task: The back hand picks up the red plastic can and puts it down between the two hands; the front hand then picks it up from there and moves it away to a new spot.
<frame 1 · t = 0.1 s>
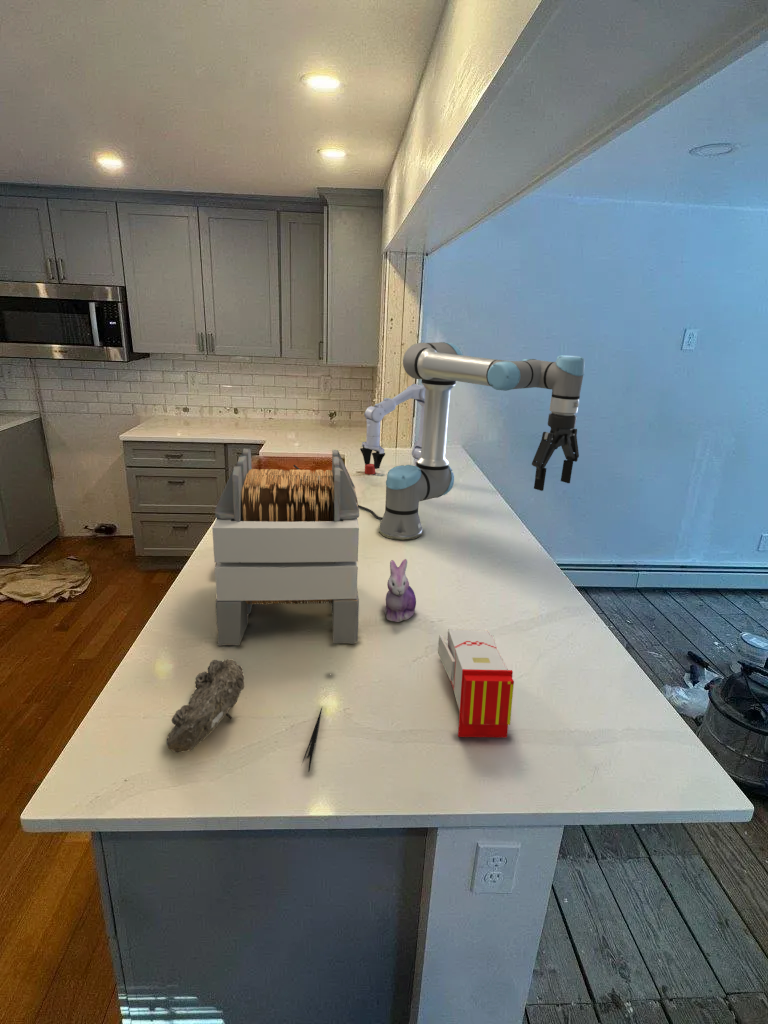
front hand: (552, 485, 166), 28 cm above the counter, tool pointing down, fingers open, 13 cm apart
back hand: (372, 466, 245), 10 cm above the counter, tool pointing down, fingers open, 7 cm apart
toy: (469, 691, 119), on the counter
figurine: (399, 614, 147), on the counter
fossil: (212, 717, 108), on the counter
can: (369, 473, 272), on the counter
feather: (319, 719, 109), on the counter
record crate: (291, 610, 147), on the counter
figurine character: (232, 569, 168), on the counter
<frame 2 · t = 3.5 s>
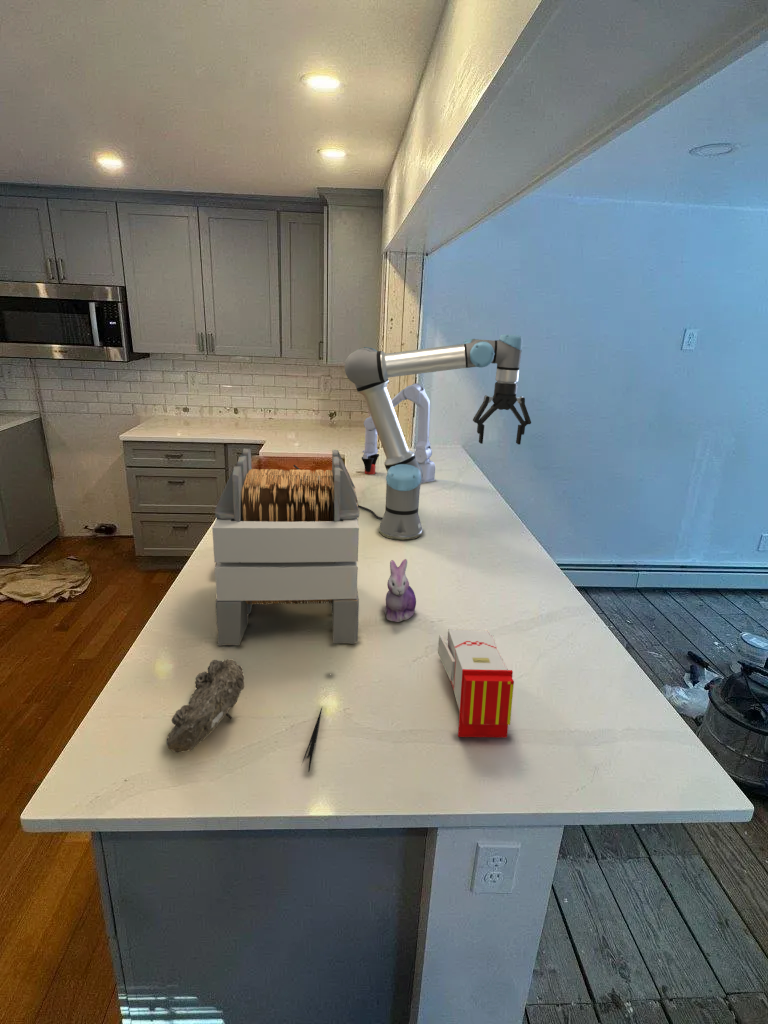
front hand: (499, 443, 200), 31 cm above the counter, tool pointing down, fingers open, 13 cm apart
back hand: (370, 470, 271), 1 cm above the counter, tool pointing down, fingers closed on can, 5 cm apart
can: (369, 473, 272), on the counter, touching back hand
everything else where it was.
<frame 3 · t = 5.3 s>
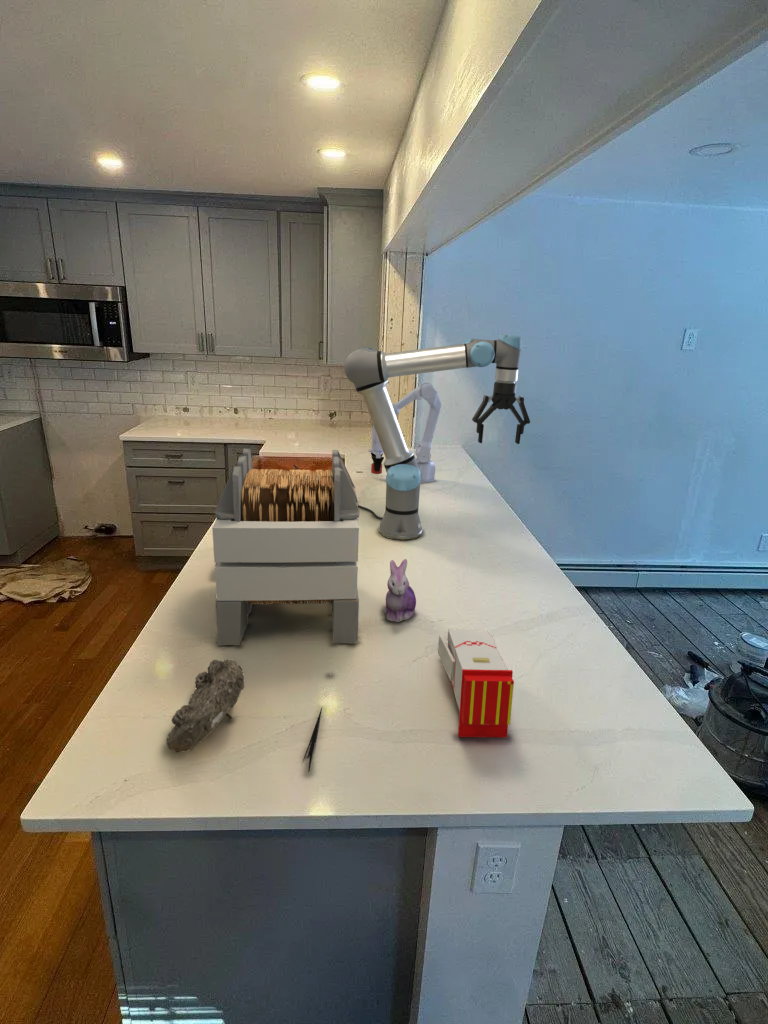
front hand: (498, 442, 201), 32 cm above the counter, tool pointing down, fingers open, 13 cm apart
back hand: (376, 469, 262), 4 cm above the counter, tool pointing down, fingers closed on can, 5 cm apart
can: (376, 472, 262), point 3 cm above the counter, touching back hand
everything else where it was.
when the back hand's fingers open (2 cm above the counter, at t = 7.4 s): can drops 1 cm, on the counter.
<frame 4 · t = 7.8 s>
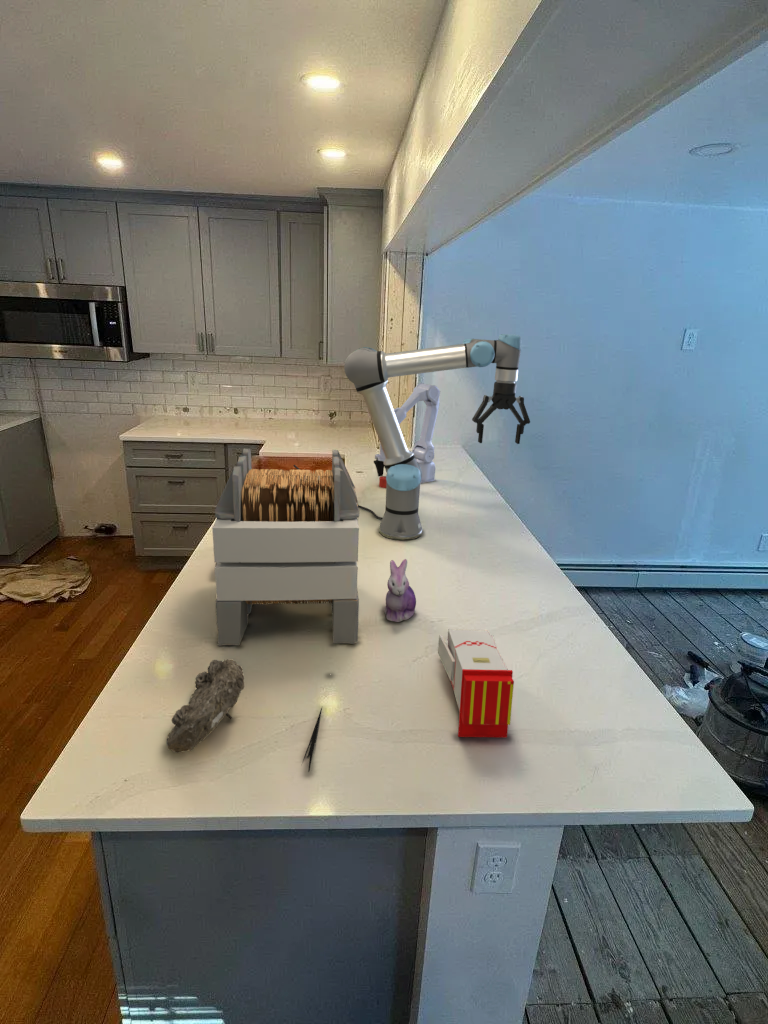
front hand: (498, 442, 201), 32 cm above the counter, tool pointing down, fingers open, 13 cm apart
back hand: (385, 478, 251), 4 cm above the counter, tool pointing down, fingers open, 7 cm apart
can: (384, 486, 252), on the counter
everything else where it was.
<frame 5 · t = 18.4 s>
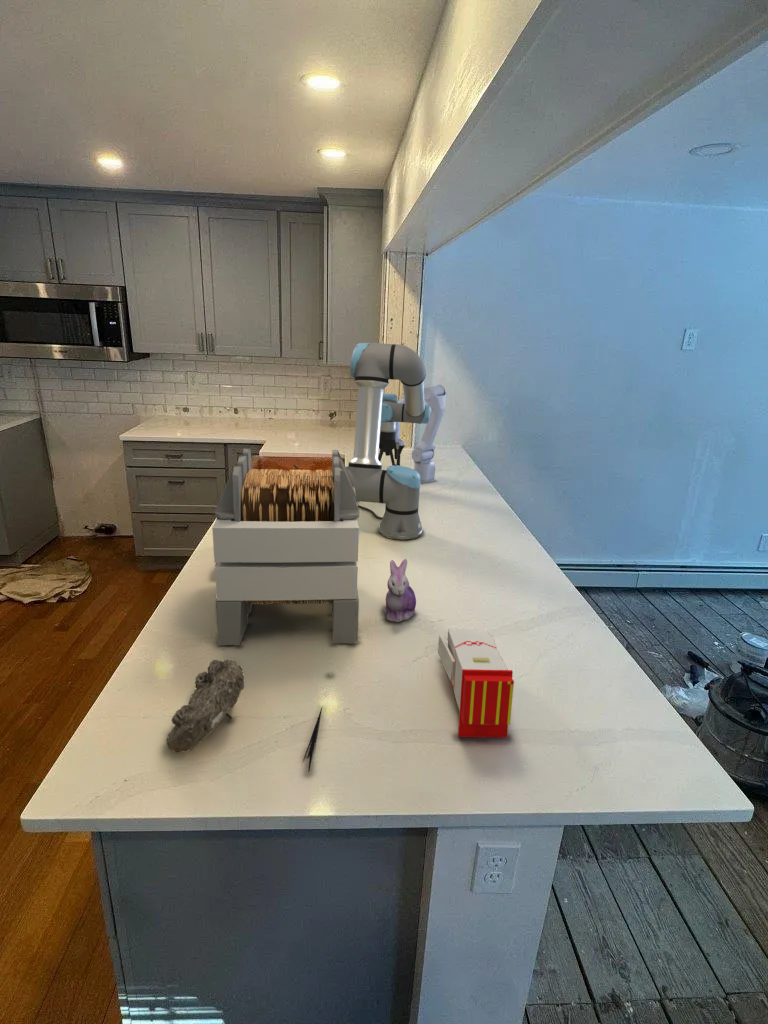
front hand: (384, 482, 251), 2 cm above the counter, tool pointing down, fingers closed on can, 5 cm apart
back hand: (392, 457, 274), 7 cm above the counter, tool pointing down, fingers open, 7 cm apart
can: (384, 483, 251), point 2 cm above the counter, touching front hand
everything else where it was.
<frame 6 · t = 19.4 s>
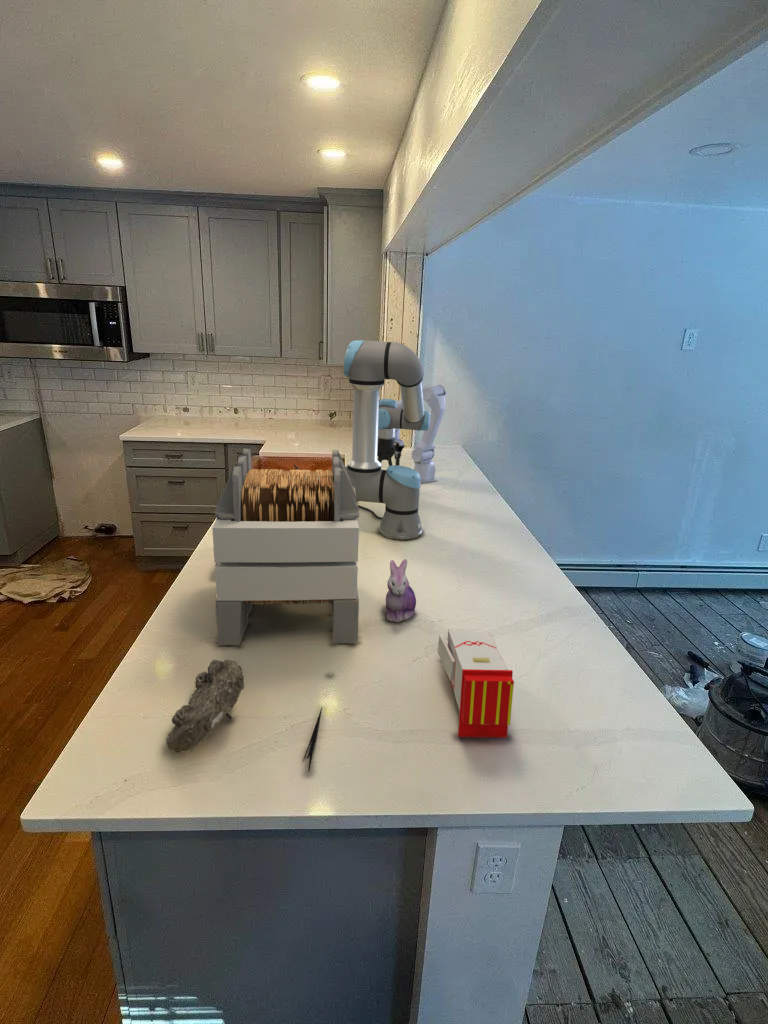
front hand: (383, 491, 239), 2 cm above the counter, tool pointing down, fingers closed on can, 5 cm apart
back hand: (392, 457, 274), 7 cm above the counter, tool pointing down, fingers open, 7 cm apart
can: (383, 492, 239), point 1 cm above the counter, touching front hand
everything else where it was.
when the front hand's fingers open (0 cm above the counter, at t = 20.8 s): can stays where it is, on the counter.
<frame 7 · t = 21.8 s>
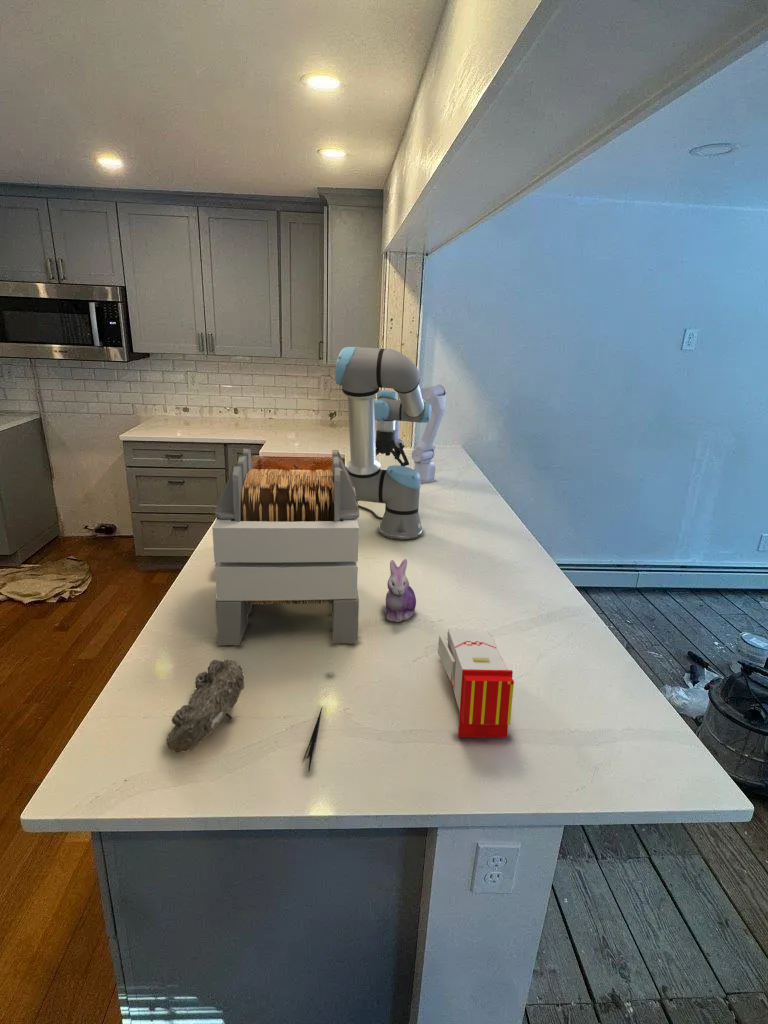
front hand: (383, 481, 231), 8 cm above the counter, tool pointing down, fingers open, 13 cm apart
back hand: (392, 457, 274), 7 cm above the counter, tool pointing down, fingers open, 7 cm apart
can: (382, 500, 234), on the counter
everything else where it was.
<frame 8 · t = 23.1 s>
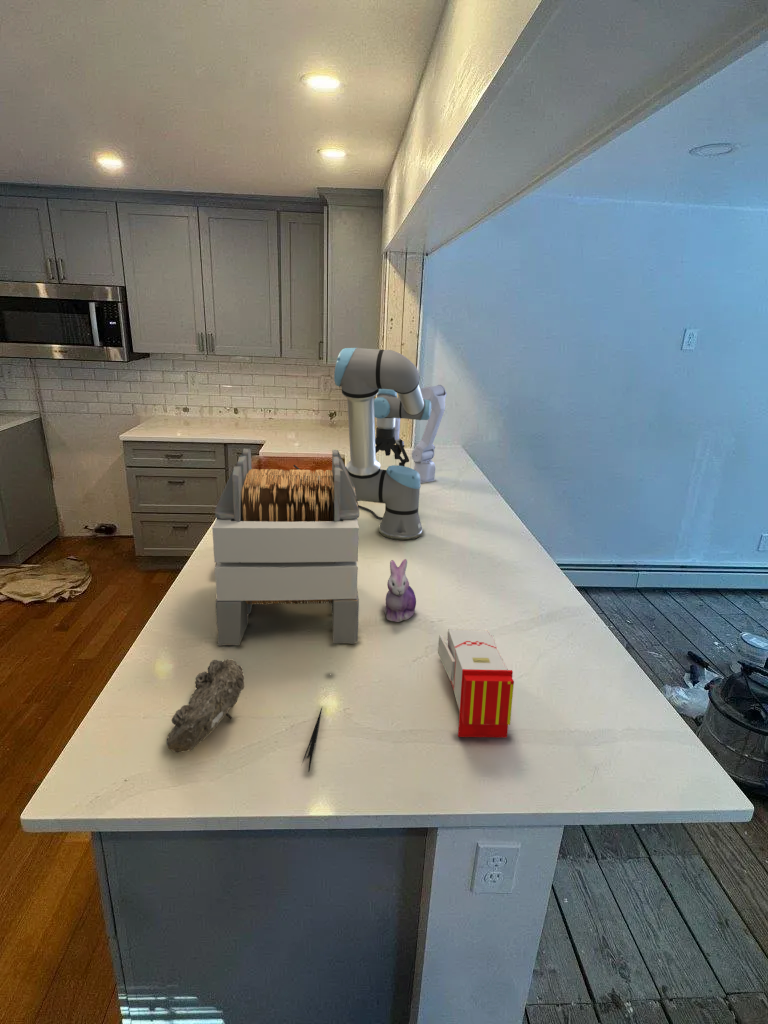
front hand: (383, 478, 231), 9 cm above the counter, tool pointing down, fingers open, 13 cm apart
back hand: (392, 457, 274), 7 cm above the counter, tool pointing down, fingers open, 7 cm apart
nothing on the counter moved.
at the end: can inside the target area (0.2 cm from its centre), on the counter; can tilted 0°; the two hands never held the can at the same time; the front hand is holding nothing; the back hand is holding nothing; can at rest at the end (0.0 cm/s) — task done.
